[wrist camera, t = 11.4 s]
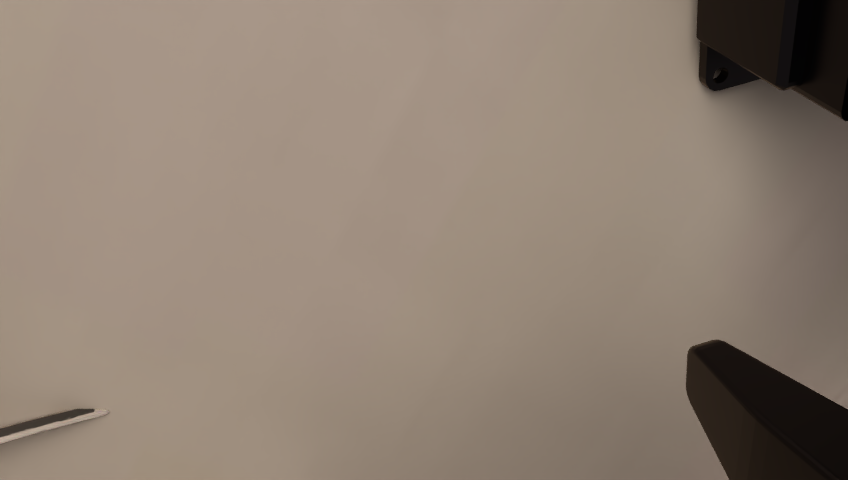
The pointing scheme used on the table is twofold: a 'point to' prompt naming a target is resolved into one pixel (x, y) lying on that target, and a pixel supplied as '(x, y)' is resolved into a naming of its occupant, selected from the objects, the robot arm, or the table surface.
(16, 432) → the sunglasses
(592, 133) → the table surface
